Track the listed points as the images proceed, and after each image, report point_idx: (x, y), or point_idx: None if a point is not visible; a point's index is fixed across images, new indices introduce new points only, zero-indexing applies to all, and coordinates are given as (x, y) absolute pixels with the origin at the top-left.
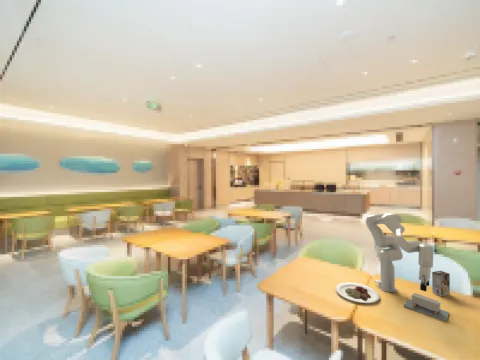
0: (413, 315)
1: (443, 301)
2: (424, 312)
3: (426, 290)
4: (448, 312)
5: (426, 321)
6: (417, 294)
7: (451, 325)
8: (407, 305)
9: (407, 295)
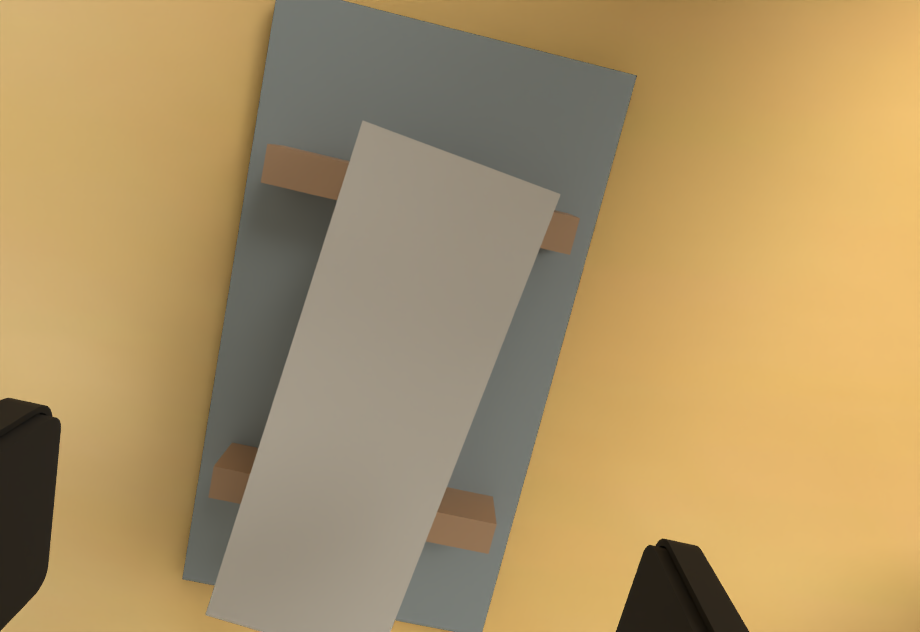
0: (63, 143)
1: (864, 603)
2: (227, 317)
3: (5, 608)
4: (460, 629)
5: (3, 318)
6: (492, 259)
7: (130, 602)
8: (321, 54)
9: (837, 79)
